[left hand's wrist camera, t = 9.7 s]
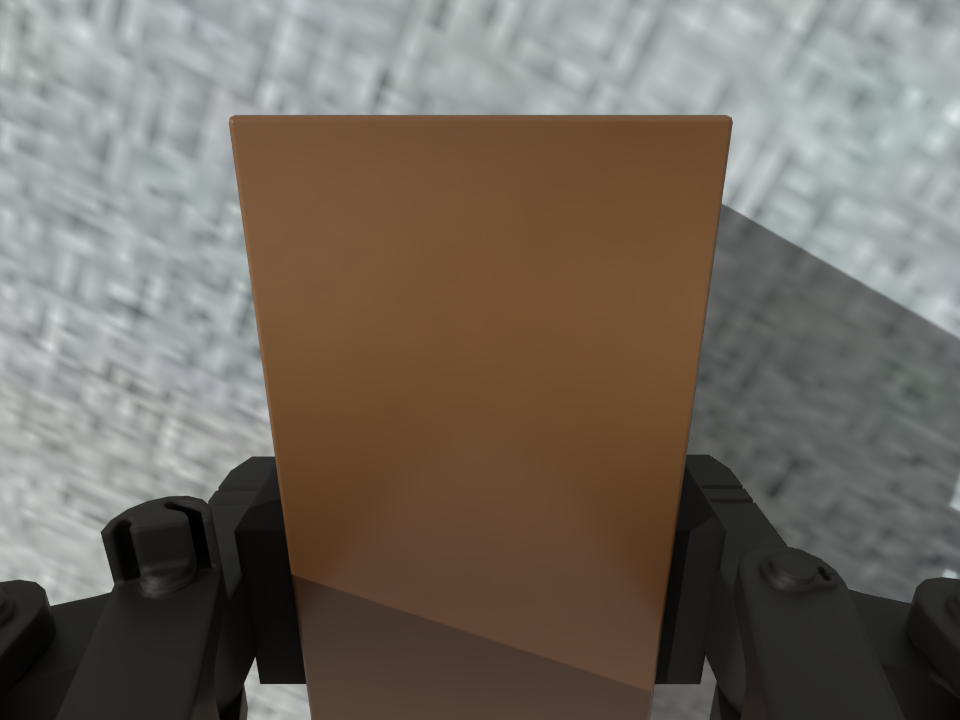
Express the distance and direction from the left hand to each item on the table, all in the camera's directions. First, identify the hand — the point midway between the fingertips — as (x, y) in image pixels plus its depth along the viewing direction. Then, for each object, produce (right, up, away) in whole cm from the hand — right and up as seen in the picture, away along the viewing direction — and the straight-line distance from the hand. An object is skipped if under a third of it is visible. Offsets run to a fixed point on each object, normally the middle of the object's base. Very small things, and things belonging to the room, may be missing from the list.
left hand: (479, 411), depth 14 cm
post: (0, -26, +10) cm, 28 cm away
